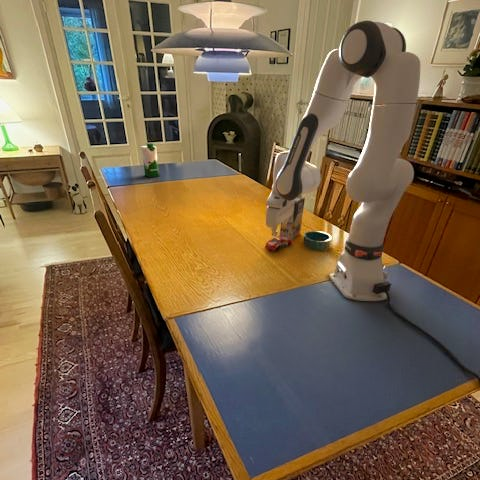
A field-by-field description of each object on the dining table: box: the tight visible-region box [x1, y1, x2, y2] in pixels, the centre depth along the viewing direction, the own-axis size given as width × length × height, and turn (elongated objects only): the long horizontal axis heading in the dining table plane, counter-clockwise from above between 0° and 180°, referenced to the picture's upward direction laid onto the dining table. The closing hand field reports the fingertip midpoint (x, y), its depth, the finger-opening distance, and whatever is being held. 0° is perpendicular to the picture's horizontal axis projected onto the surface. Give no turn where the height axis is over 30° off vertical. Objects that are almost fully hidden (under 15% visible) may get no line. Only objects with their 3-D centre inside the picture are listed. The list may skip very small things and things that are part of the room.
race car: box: [264, 236, 292, 252], centre depth 142 cm, size 13×5×4 cm, turn 133°
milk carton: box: [140, 142, 160, 178], centre depth 227 cm, size 9×9×20 cm
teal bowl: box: [302, 230, 332, 252], centre depth 143 cm, size 11×11×4 cm
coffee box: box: [278, 196, 306, 241], centre depth 148 cm, size 9×6×16 cm
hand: (279, 231), depth 139 cm, fingers open, 8 cm apart
